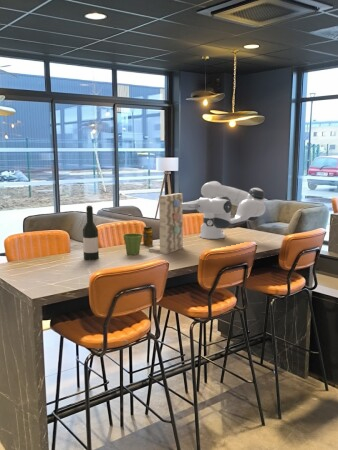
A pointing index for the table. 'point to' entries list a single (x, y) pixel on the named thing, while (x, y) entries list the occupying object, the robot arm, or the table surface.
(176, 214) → the terracotta button
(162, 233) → the tall patterned box
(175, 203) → the slate button
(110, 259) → the table surface
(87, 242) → the wine bottle
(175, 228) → the sage button
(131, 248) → the plant pot
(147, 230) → the condiment
